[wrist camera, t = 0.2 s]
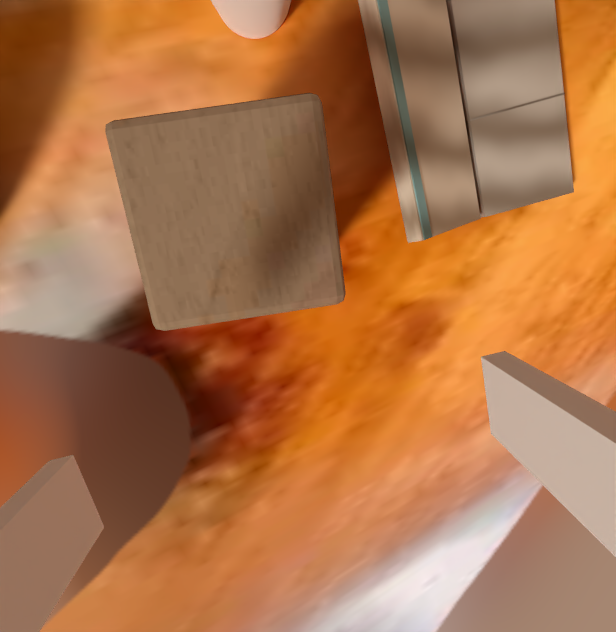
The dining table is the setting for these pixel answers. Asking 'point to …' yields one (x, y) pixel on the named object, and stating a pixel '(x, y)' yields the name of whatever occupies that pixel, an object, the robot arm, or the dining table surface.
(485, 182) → the laid row
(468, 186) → the plank
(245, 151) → the wooden block
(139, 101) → the dining table surface
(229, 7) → the cup
